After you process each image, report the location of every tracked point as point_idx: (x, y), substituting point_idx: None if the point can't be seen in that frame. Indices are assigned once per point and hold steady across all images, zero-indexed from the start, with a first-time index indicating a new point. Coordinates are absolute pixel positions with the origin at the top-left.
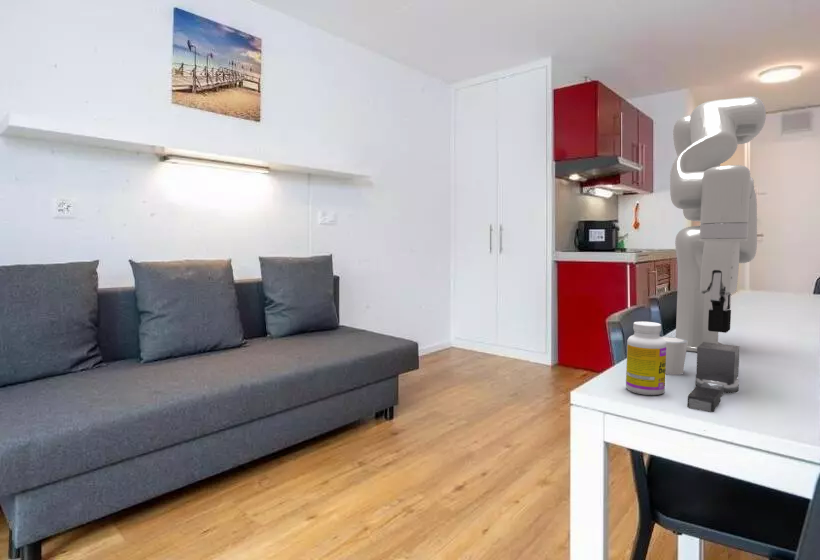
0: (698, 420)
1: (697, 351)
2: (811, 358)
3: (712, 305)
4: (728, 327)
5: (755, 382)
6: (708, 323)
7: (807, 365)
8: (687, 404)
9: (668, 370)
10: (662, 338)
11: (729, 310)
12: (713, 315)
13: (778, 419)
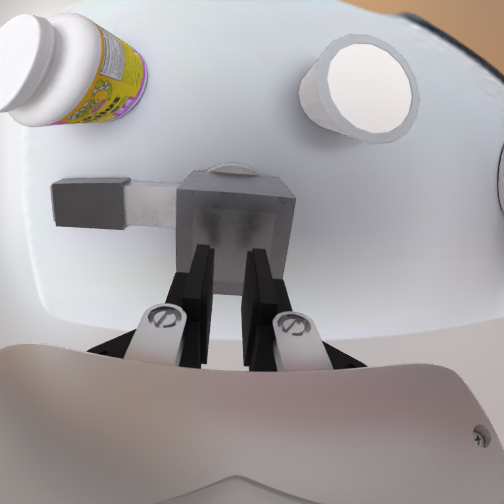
0: (25, 207)
1: (179, 186)
2: (479, 320)
3: (116, 339)
4: (241, 313)
5: (321, 270)
6: (195, 257)
7: (450, 322)
8: (60, 180)
9: (300, 95)
10: (36, 112)
11: (250, 369)
12: (165, 303)
13: (100, 297)
